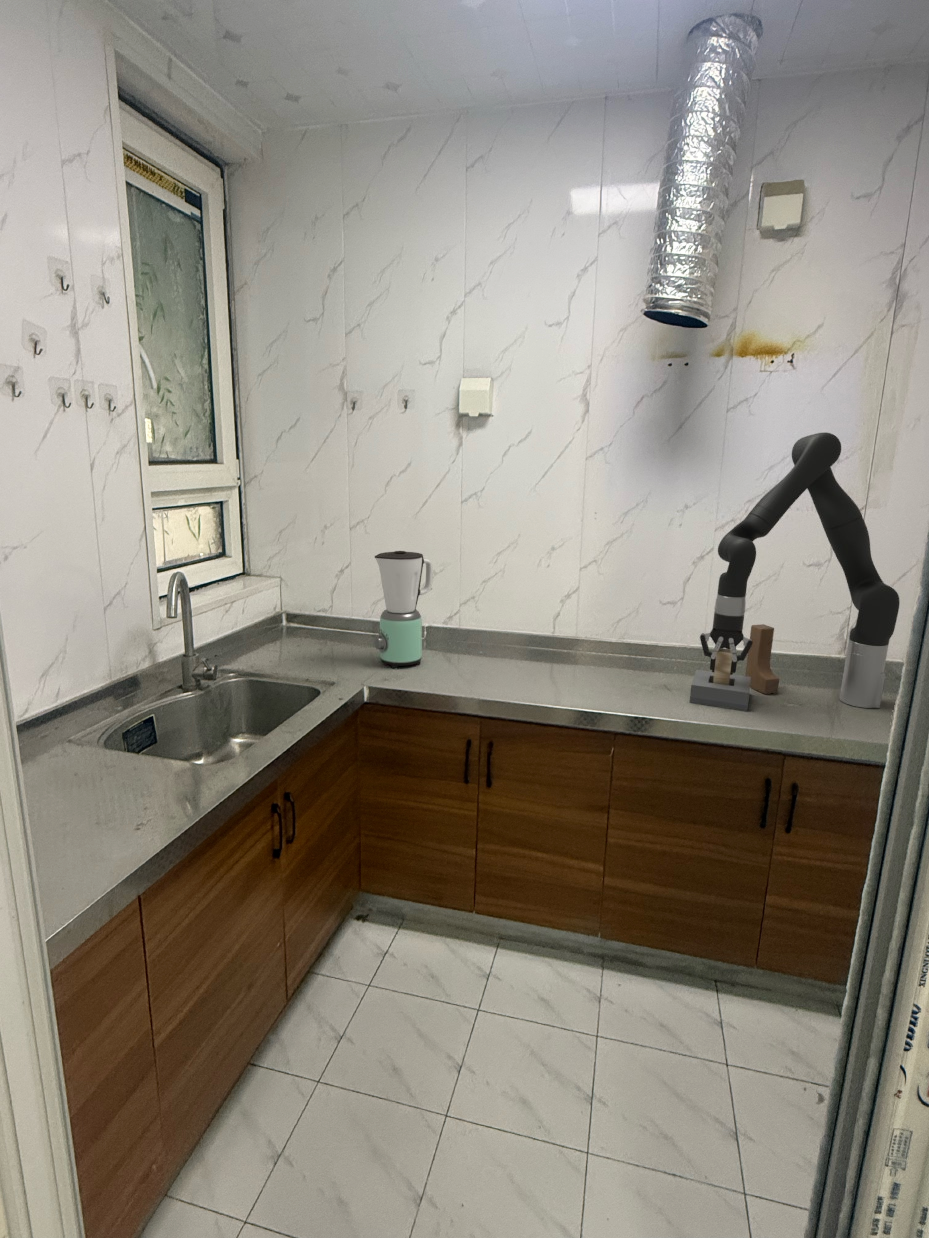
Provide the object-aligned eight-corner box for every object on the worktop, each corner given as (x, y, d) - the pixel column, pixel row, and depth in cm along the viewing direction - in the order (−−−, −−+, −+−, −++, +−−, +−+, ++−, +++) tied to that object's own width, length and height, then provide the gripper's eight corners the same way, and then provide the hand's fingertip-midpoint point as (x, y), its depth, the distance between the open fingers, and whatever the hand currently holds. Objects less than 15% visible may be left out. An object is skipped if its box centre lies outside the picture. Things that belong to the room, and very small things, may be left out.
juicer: (386, 672, 203) (384, 556, 195) (367, 661, 214) (365, 550, 206) (440, 663, 213) (442, 552, 205) (420, 652, 224) (420, 546, 216)
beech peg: (729, 684, 188) (733, 649, 185) (728, 688, 184) (732, 653, 182) (713, 682, 189) (717, 647, 187) (712, 686, 186) (716, 651, 183)
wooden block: (778, 693, 192) (786, 631, 188) (764, 694, 191) (772, 632, 186) (756, 683, 200) (764, 623, 196) (743, 684, 199) (750, 624, 195)
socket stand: (748, 693, 191) (750, 676, 190) (747, 711, 178) (749, 693, 177) (694, 686, 197) (696, 669, 195) (689, 702, 184) (691, 684, 183)
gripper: (758, 611, 182) (750, 672, 186) (702, 605, 188) (696, 665, 192) (758, 617, 176) (750, 680, 180) (700, 611, 181) (693, 672, 185)
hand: (722, 672), depth 186 cm, fingers closed on beech peg, 4 cm apart
